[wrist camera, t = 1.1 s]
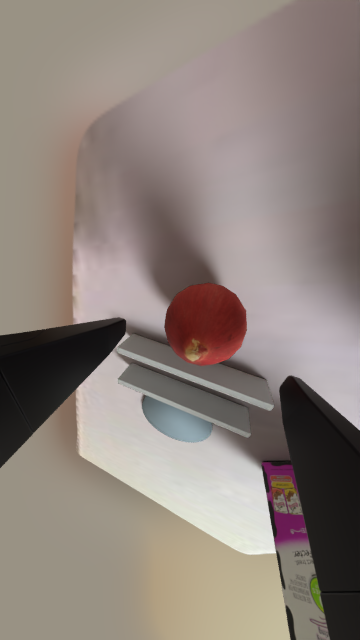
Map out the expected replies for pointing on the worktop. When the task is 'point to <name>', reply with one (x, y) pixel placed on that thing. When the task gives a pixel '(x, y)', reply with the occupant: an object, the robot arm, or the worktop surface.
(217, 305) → the onion
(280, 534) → the candy bar box
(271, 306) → the worktop surface
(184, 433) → the mat
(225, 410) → the low walls
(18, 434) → the robot arm
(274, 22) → the worktop surface
